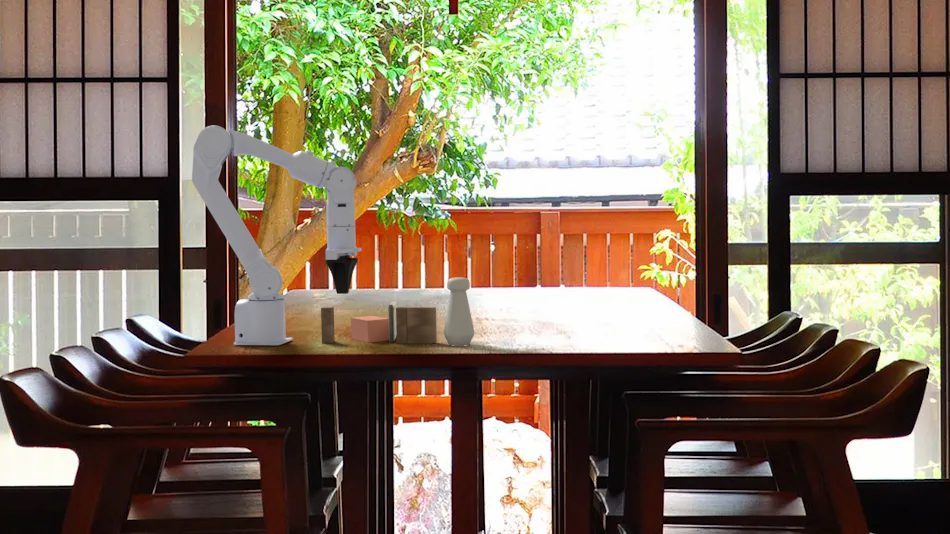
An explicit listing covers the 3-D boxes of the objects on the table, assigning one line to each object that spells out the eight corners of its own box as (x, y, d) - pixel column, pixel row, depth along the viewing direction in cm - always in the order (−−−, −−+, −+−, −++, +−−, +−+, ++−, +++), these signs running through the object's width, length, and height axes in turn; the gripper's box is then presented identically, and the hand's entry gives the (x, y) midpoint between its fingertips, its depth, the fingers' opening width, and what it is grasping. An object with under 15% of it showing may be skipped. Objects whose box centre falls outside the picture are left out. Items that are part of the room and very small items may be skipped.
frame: (321, 342, 186) (320, 305, 186) (325, 341, 188) (324, 304, 188) (435, 343, 182) (434, 305, 182) (437, 342, 184) (436, 304, 184)
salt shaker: (470, 347, 177) (469, 278, 176) (441, 346, 178) (440, 278, 178) (477, 342, 183) (476, 276, 182) (448, 342, 184) (447, 276, 183)
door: (392, 333, 196) (391, 301, 196) (397, 333, 196) (397, 301, 196) (388, 340, 185) (388, 307, 185) (394, 340, 185) (393, 307, 185)
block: (351, 339, 192) (351, 317, 191) (372, 337, 195) (372, 315, 194) (368, 343, 186) (367, 320, 186) (390, 340, 189) (389, 318, 189)
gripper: (349, 227, 181) (351, 296, 182) (370, 225, 196) (371, 290, 196) (314, 227, 182) (316, 296, 183) (337, 225, 197) (339, 290, 198)
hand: (342, 293), depth 190 cm, fingers closed
